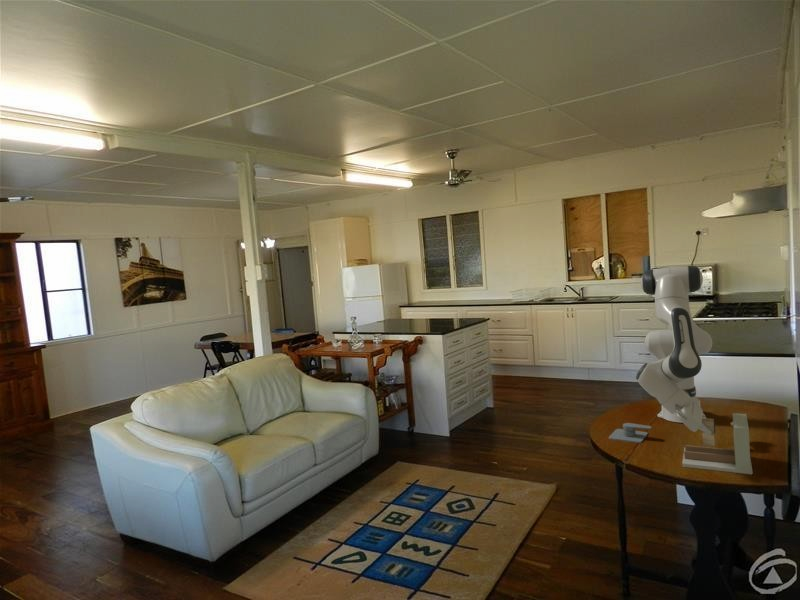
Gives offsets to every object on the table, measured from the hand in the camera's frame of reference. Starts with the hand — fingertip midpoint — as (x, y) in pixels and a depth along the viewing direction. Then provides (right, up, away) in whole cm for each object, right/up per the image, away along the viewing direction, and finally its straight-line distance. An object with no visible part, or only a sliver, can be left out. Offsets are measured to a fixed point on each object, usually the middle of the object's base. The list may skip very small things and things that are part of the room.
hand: (710, 431), depth 180 cm
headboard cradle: (+2, -11, 0) cm, 11 cm away
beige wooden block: (0, -5, +1) cm, 5 cm away
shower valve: (-13, -11, +31) cm, 35 cm away
